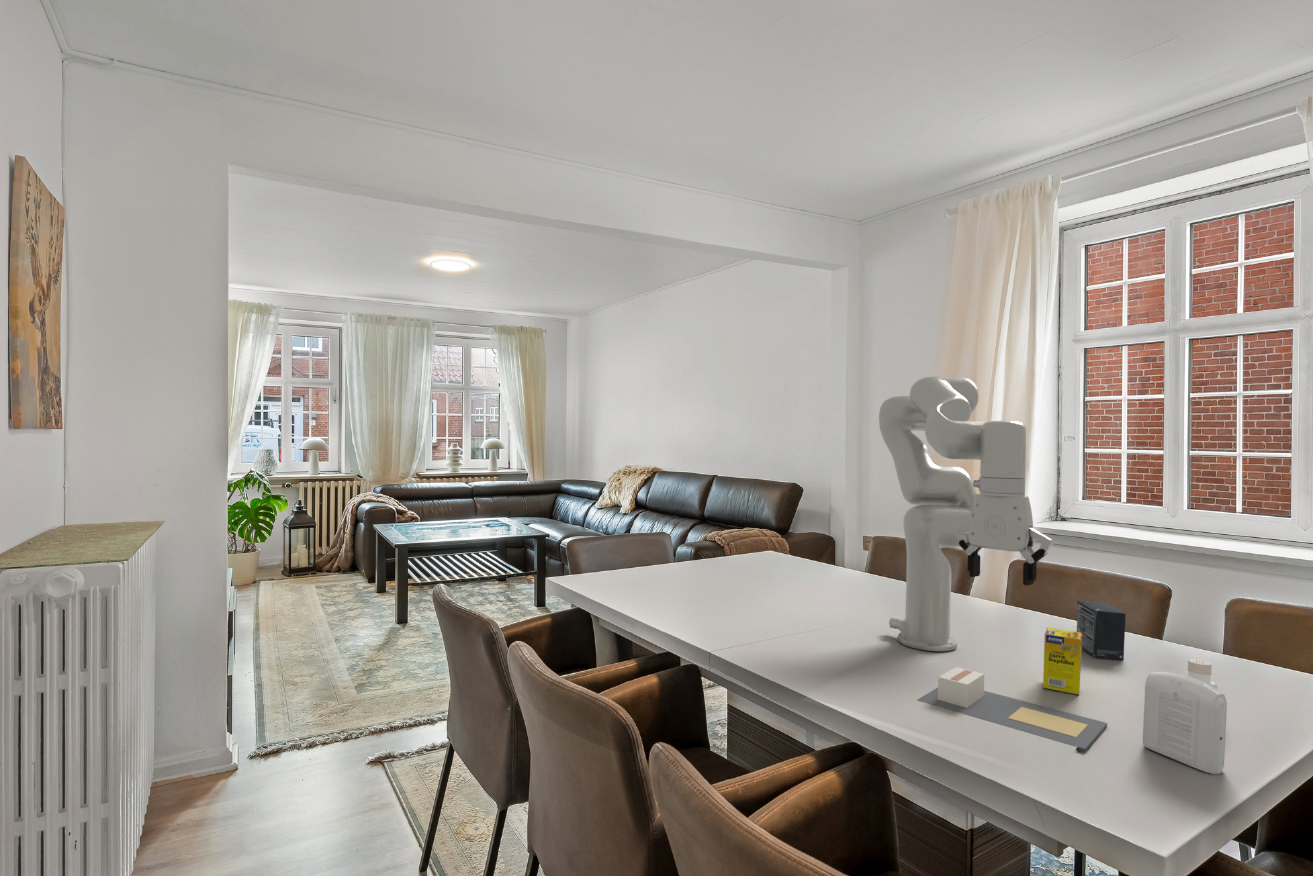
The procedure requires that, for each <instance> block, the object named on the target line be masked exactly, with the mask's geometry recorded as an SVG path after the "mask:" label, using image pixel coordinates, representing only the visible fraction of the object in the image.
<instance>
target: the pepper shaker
mask: <svg viewBox="0 0 1313 876" xmlns="http://www.w3.org/2000/svg"><path fill="white" fill-rule="evenodd" d="M1187 672H1188V675H1187V676H1189V677H1192V678H1194V679H1197V680H1199V681H1202V682H1204V683H1206V684H1208V685H1210V686H1212V687H1213V688H1215V689H1217V690H1218V684H1216V683H1215V682H1213V681H1212V680H1211V676H1212V663H1211V662H1209V661H1206V660H1202V659H1197V658H1190V659H1188V660H1187Z"/></svg>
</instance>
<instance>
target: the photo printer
mask: <svg viewBox="0 0 1313 876" xmlns="http://www.w3.org/2000/svg"><path fill="white" fill-rule="evenodd" d="M1143 700H1144V701H1143V703H1144V705H1143V726H1142V745H1143V747H1146V748H1147V749H1149V750H1151V751H1153V752H1156V753H1158V754H1159V755H1163V756H1166V757H1169V758H1170V759H1173V760H1175V761H1178V762H1180V763H1183V764H1185V765H1187V766H1189V767H1192V768H1195V769H1197V770H1199V771H1202V772H1205V773H1208V774H1209V773H1210V775H1220V773H1221V774H1222V773H1223V772H1224V771H1223V770H1224V768H1225V757H1226V755H1225V753H1226V735H1227V734H1226V732H1227V714H1228V713H1227V709H1228V706H1227V705H1228V702H1227V698H1226V695H1225V694H1224V693H1222V692H1221V691H1220V690H1218V688H1217V689H1215V688H1213V687H1212V686H1210V685H1208V684H1206V683H1204V682H1202V681H1199V680H1197V679H1194V678H1192V677H1189V676H1188V675H1185V674H1180V673H1175V672H1167V671H1154V672H1149V674H1148V675H1147V677H1146V681H1145V685H1144V699H1143Z"/></svg>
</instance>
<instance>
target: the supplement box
mask: <svg viewBox="0 0 1313 876" xmlns="http://www.w3.org/2000/svg"><path fill="white" fill-rule="evenodd" d="M1043 643H1044V647H1043V648H1044V649H1043V652H1044V653H1043V674H1042V675H1043V676H1042V677H1043V679H1042V689H1043V690H1046V691H1051V692H1057V693H1062V694H1067V695H1073V696H1077V697H1078V696H1080V687H1081V686H1080V685H1081V669H1082V668H1081V667H1082V650H1083V649H1082V633H1080V632H1077V631H1074V630H1067V629H1066V630H1065V629H1060V628H1055V627H1054V628H1053V627H1046V629H1045V633H1044V642H1043Z"/></svg>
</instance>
